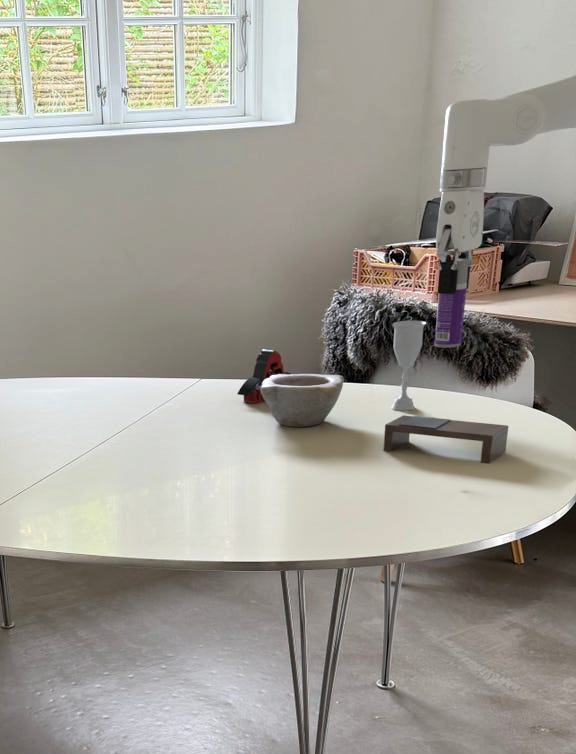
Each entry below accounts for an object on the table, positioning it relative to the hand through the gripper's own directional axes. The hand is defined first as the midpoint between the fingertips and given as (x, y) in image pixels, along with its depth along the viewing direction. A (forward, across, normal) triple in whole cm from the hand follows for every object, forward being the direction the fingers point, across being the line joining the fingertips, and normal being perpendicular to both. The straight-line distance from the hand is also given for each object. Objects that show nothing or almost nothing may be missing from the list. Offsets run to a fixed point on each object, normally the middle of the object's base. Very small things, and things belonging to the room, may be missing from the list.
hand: (452, 290), depth 173 cm
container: (+10, 0, 0) cm, 10 cm away
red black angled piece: (+28, +19, +50) cm, 60 cm away
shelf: (+28, -8, -4) cm, 29 cm away
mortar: (+28, +1, +31) cm, 42 cm away
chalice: (+28, +21, +17) cm, 39 cm away
